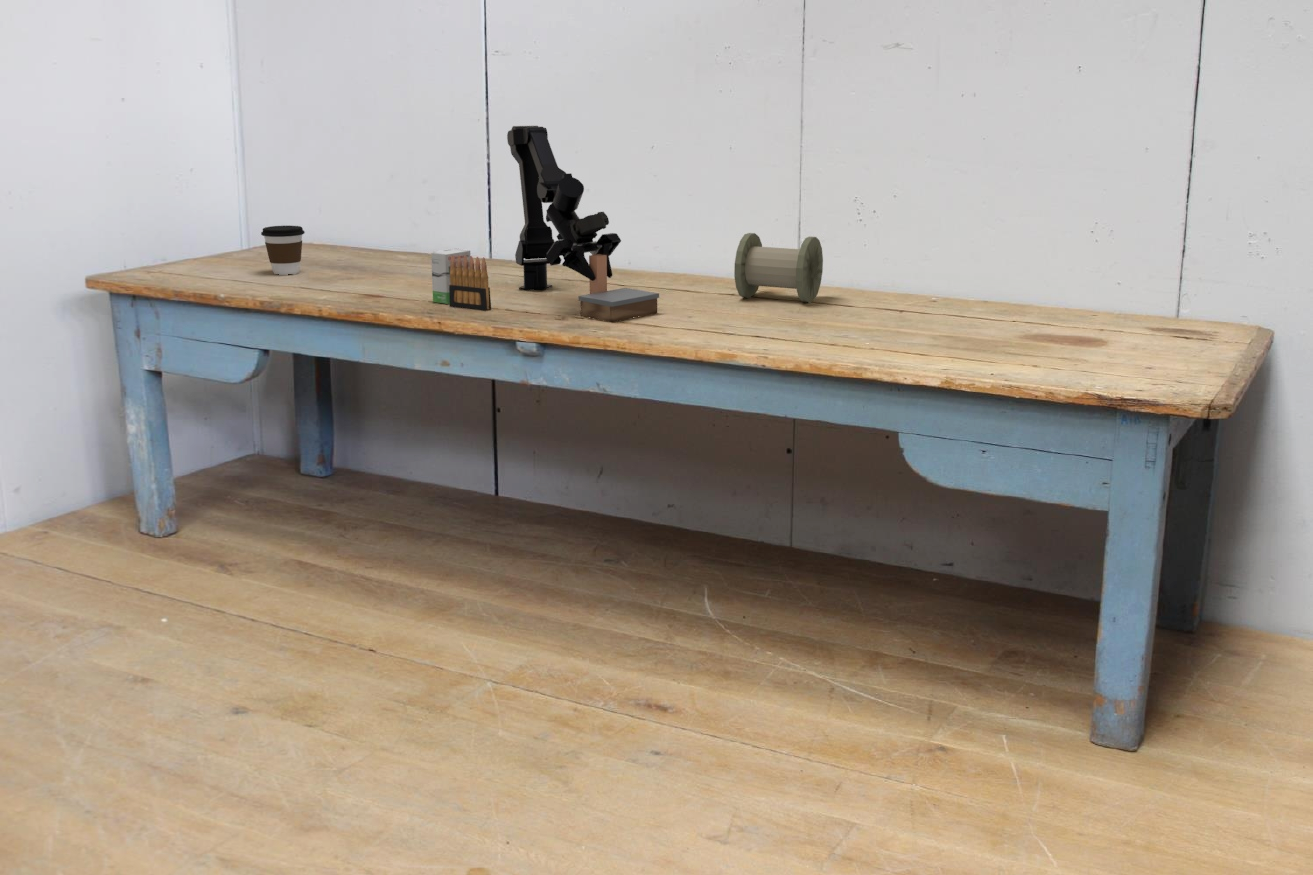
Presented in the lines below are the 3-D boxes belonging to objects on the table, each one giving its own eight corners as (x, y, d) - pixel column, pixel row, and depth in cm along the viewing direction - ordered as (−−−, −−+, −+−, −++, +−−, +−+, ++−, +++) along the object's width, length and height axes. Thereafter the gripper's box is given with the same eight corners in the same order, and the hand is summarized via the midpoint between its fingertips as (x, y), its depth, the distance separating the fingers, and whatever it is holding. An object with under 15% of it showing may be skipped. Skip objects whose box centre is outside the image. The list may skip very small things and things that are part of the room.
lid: (570, 299, 286) (569, 258, 283) (617, 290, 296) (617, 251, 293) (612, 306, 277) (612, 264, 275) (659, 297, 287) (659, 257, 285)
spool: (821, 296, 308) (823, 233, 304) (801, 307, 295) (803, 241, 291) (756, 291, 315) (758, 230, 311) (733, 302, 302) (735, 237, 298)
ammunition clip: (491, 309, 293) (489, 256, 289) (486, 311, 291) (484, 258, 288) (454, 305, 298) (451, 253, 295) (449, 306, 296) (446, 254, 293)
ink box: (447, 304, 299) (444, 253, 295) (431, 302, 302) (429, 251, 298) (473, 299, 305) (471, 249, 302) (458, 297, 308) (455, 247, 305)
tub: (580, 316, 285) (580, 300, 284) (625, 307, 295) (625, 292, 294) (612, 322, 279) (612, 306, 278) (657, 313, 288) (657, 297, 287)
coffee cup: (316, 272, 343) (313, 227, 340) (284, 278, 334) (280, 231, 331) (287, 269, 349) (284, 224, 346) (255, 274, 340) (251, 228, 337)
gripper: (553, 203, 280) (589, 260, 276) (614, 197, 293) (650, 250, 289) (530, 237, 288) (565, 292, 284) (591, 229, 301) (625, 281, 297)
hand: (602, 278), depth 288 cm, fingers open, 5 cm apart
